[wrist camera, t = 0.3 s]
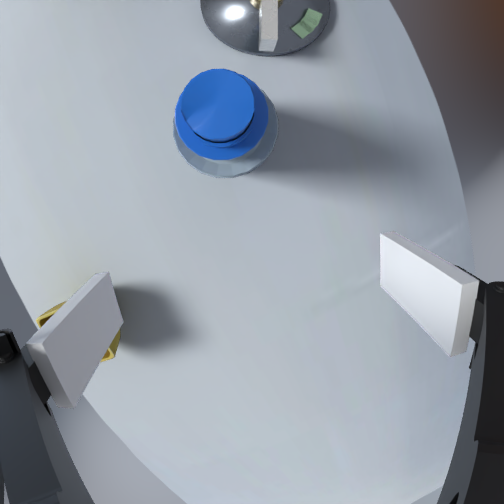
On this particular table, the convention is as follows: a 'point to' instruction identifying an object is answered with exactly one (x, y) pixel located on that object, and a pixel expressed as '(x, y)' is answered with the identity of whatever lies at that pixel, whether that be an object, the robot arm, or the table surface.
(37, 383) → the robot arm
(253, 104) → the spray bottle
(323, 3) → the gauge plate
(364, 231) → the table surface
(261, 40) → the needle dial
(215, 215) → the table surface
